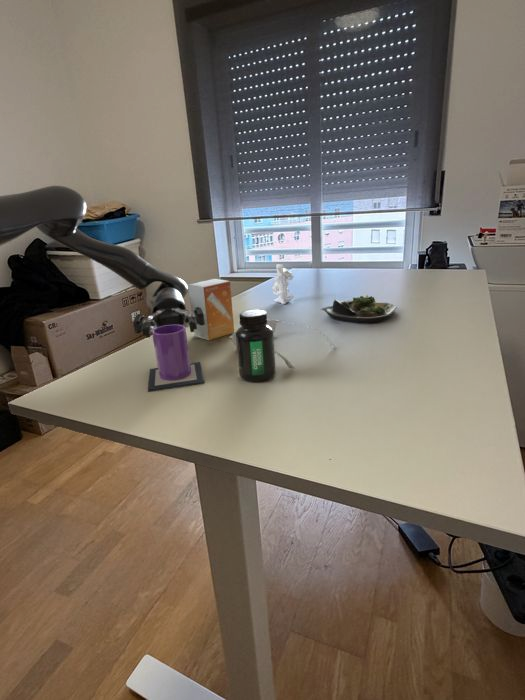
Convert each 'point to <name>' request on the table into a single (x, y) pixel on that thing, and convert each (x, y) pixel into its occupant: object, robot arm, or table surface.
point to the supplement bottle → (255, 347)
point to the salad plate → (360, 310)
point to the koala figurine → (282, 284)
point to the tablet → (161, 384)
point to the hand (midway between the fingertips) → (169, 329)
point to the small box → (213, 307)
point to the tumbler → (172, 352)
